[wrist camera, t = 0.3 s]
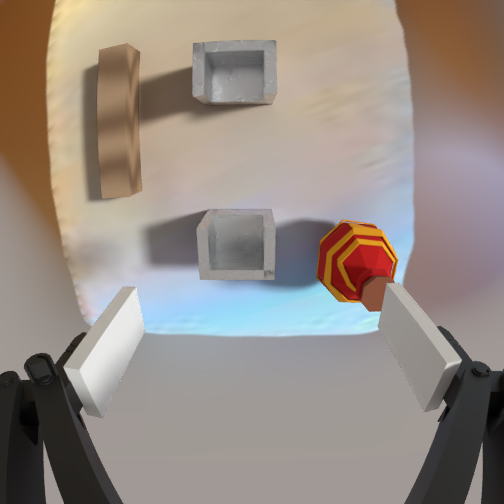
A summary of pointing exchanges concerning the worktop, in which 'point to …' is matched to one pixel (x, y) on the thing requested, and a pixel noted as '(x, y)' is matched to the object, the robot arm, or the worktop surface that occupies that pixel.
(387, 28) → the worktop surface
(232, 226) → the bracket
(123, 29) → the worktop surface
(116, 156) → the rail
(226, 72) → the bracket
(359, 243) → the potion bottle
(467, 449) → the robot arm
